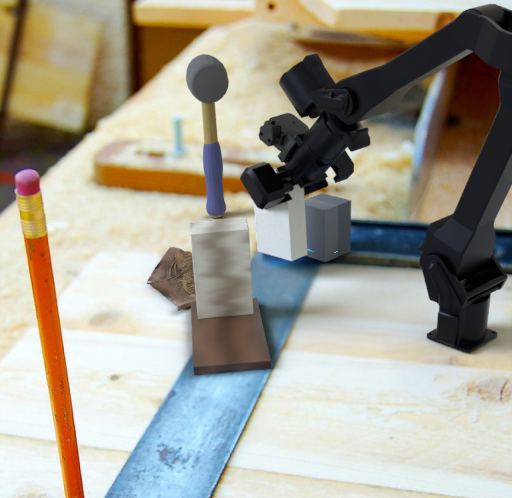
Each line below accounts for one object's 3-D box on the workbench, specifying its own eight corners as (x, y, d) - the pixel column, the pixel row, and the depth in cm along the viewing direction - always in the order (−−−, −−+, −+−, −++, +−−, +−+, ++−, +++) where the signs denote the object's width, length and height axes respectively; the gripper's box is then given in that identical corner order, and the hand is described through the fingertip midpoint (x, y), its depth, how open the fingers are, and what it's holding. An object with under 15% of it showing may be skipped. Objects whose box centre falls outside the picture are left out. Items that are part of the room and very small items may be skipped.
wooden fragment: (217, 306, 116) (217, 300, 115) (145, 313, 117) (145, 307, 116) (208, 245, 138) (208, 240, 138) (148, 251, 139) (148, 246, 139)
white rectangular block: (307, 254, 122) (303, 173, 116) (291, 261, 120) (286, 179, 114) (273, 245, 128) (267, 168, 122) (257, 251, 126) (250, 173, 120)
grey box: (350, 251, 129) (351, 200, 125) (325, 262, 126) (325, 210, 122) (322, 243, 134) (322, 193, 129) (297, 253, 131) (296, 202, 127)
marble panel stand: (257, 304, 116) (252, 214, 109) (271, 368, 99) (267, 266, 92) (191, 310, 116) (182, 221, 109) (194, 374, 100) (184, 274, 93)
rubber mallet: (195, 208, 158) (182, 54, 143) (231, 204, 157) (222, 49, 143) (200, 229, 147) (186, 64, 132) (239, 224, 147) (229, 58, 132)
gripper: (340, 84, 113) (290, 148, 127) (244, 111, 105) (201, 177, 119) (380, 145, 111) (325, 203, 125) (286, 177, 103) (237, 236, 117)
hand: (273, 203), depth 121 cm, fingers closed on white rectangular block, 3 cm apart
